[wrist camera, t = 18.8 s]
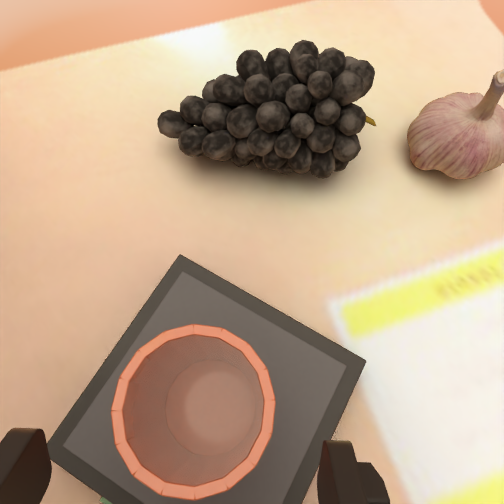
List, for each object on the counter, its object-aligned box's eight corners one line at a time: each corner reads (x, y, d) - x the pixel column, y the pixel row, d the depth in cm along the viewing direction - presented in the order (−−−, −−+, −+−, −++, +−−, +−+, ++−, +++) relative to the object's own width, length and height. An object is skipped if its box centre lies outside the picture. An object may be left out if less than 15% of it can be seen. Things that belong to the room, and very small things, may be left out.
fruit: (127, 76, 21) (405, 79, 21) (153, 17, 27) (375, 19, 27) (156, 196, 28) (368, 198, 28) (172, 130, 33) (350, 132, 33)
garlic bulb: (391, 176, 30) (441, 101, 23) (407, 105, 33) (456, 17, 25) (490, 204, 30) (575, 137, 22) (498, 129, 32) (577, 46, 25)
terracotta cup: (228, 485, 20) (219, 538, 12) (139, 425, 21) (77, 438, 13) (279, 386, 21) (303, 375, 14) (196, 336, 22) (172, 297, 14)
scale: (249, 593, 21) (251, 624, 18) (55, 454, 23) (28, 461, 20) (355, 364, 25) (370, 359, 22) (184, 266, 27) (177, 249, 24)
